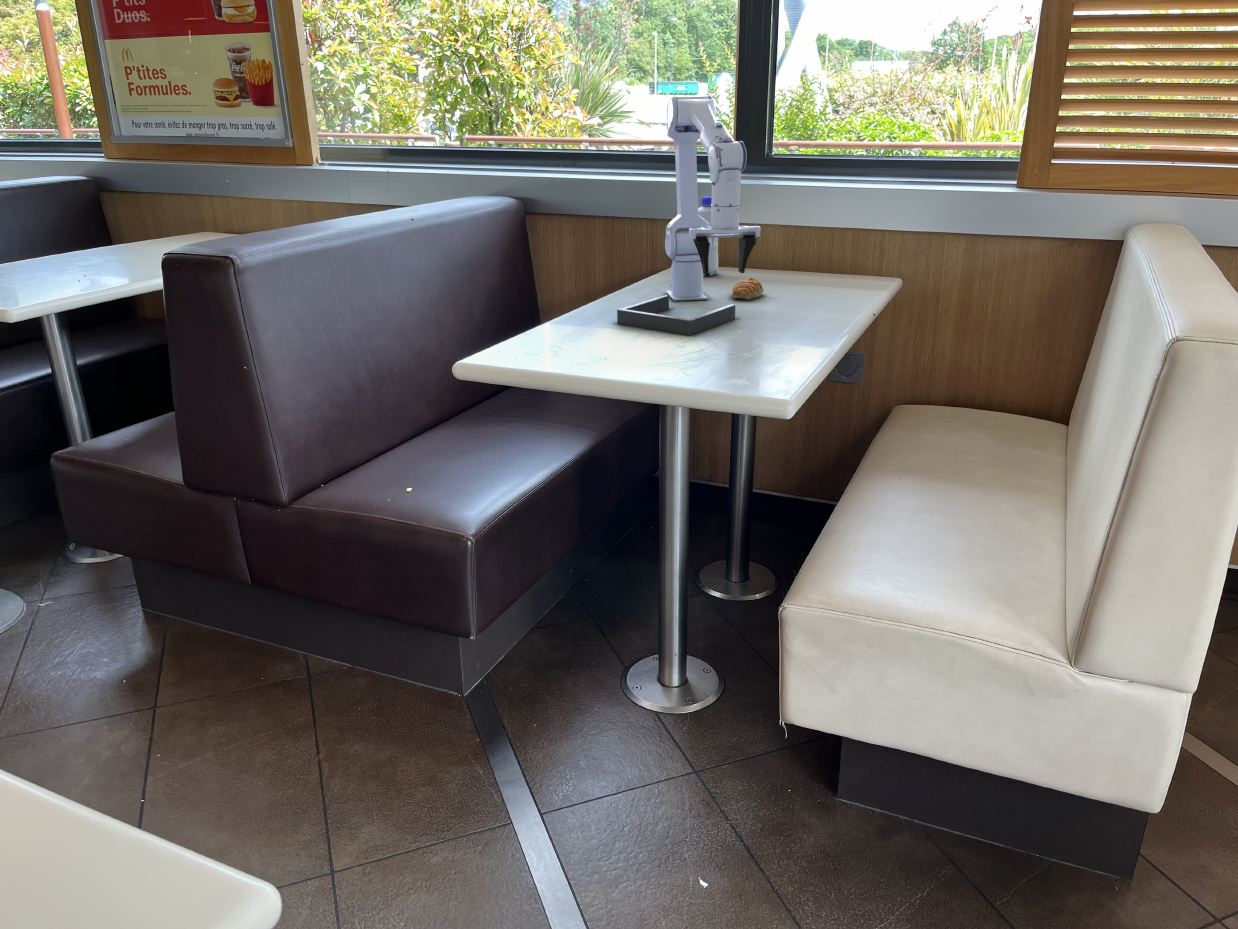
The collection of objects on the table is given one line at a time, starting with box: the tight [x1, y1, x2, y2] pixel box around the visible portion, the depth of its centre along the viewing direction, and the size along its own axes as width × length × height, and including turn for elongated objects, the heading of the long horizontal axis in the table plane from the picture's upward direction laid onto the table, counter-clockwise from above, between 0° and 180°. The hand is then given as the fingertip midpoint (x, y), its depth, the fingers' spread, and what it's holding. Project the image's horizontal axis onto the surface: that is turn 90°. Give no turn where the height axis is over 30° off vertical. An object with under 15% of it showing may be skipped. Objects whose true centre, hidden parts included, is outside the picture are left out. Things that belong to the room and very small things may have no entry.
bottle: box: [698, 195, 719, 277], centre depth 234 cm, size 7×7×20 cm
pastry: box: [731, 277, 765, 301], centre depth 209 cm, size 9×7×4 cm
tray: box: [616, 294, 736, 337], centre depth 188 cm, size 18×18×3 cm
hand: (723, 272), depth 185 cm, fingers open, 7 cm apart
